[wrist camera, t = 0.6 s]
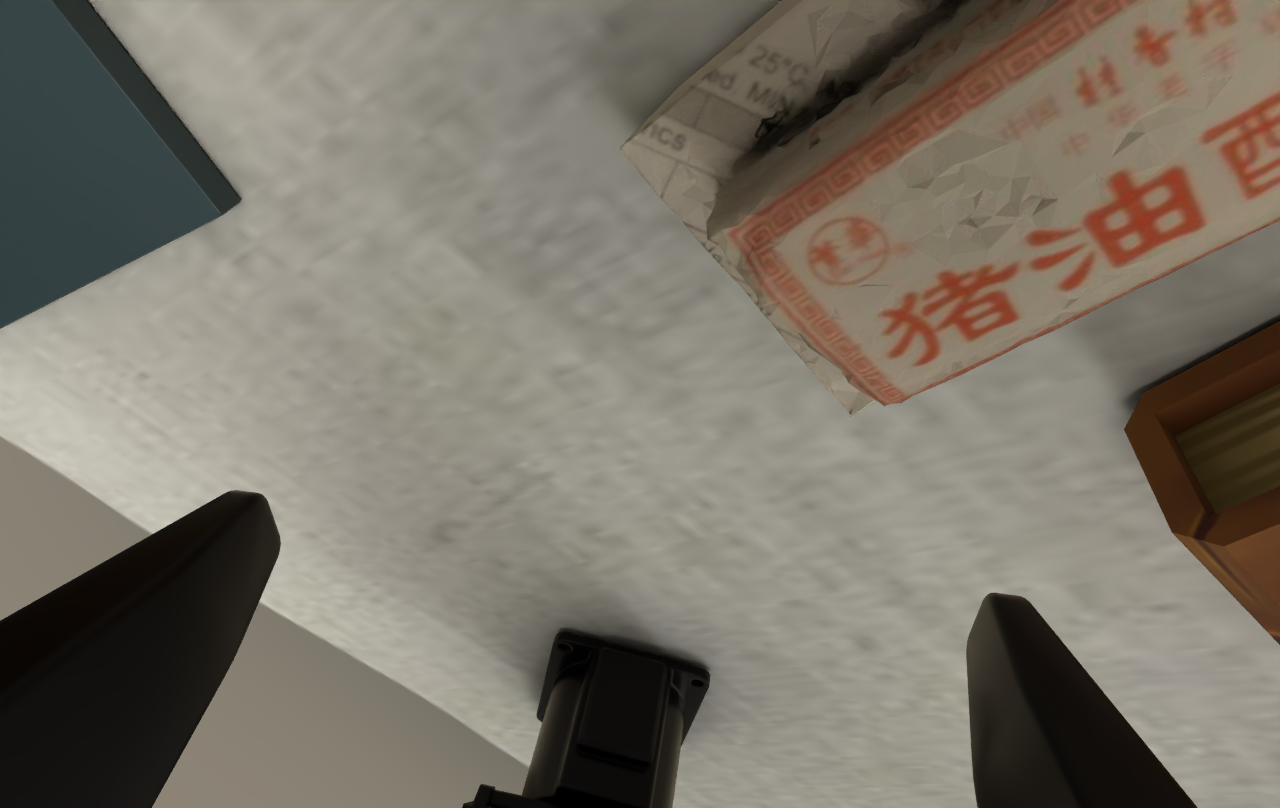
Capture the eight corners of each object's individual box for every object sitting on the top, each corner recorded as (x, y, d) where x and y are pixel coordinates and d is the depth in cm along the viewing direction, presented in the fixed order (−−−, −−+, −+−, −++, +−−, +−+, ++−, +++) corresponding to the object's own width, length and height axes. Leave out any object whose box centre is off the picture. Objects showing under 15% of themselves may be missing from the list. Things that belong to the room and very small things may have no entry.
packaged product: (1969, -889, 8) (1994, 18, 11) (1585, -674, 11) (1701, -46, 15) (581, 207, 17) (852, 510, 20) (623, 124, 20) (846, 393, 24)
